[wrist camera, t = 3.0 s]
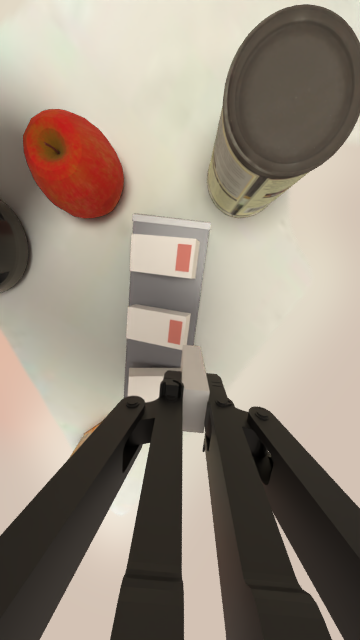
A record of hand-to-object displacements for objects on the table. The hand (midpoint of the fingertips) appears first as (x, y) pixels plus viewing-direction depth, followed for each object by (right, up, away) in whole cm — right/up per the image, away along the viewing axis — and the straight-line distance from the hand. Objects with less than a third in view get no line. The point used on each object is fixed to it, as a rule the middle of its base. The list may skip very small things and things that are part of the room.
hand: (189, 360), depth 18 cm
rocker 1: (-3, +12, +9) cm, 15 cm away
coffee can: (+8, +23, +11) cm, 27 cm away
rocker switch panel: (-3, +4, +16) cm, 17 cm away
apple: (-13, +23, +12) cm, 29 cm away
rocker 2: (-4, +3, +11) cm, 12 cm away
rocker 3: (-5, -6, +13) cm, 15 cm away
